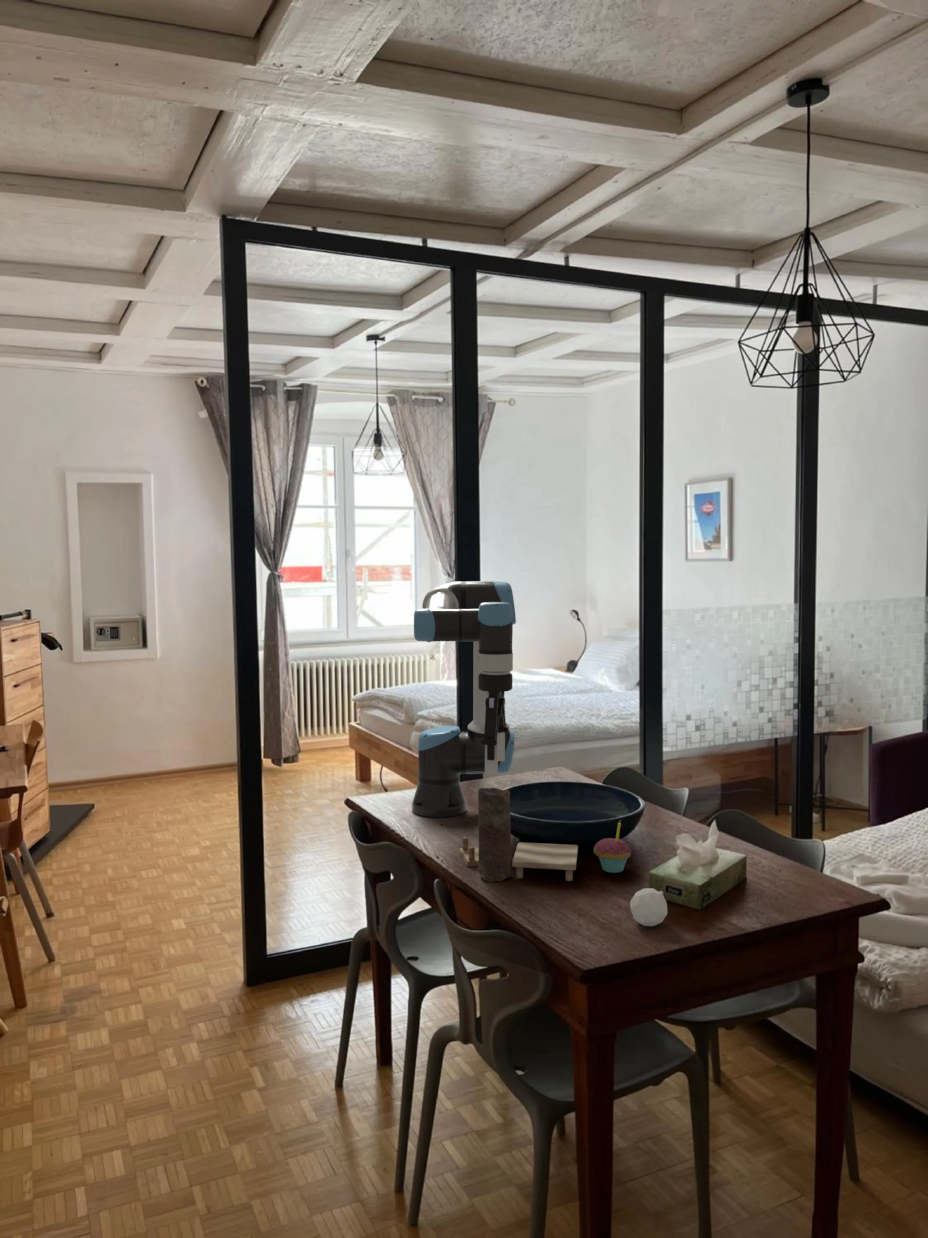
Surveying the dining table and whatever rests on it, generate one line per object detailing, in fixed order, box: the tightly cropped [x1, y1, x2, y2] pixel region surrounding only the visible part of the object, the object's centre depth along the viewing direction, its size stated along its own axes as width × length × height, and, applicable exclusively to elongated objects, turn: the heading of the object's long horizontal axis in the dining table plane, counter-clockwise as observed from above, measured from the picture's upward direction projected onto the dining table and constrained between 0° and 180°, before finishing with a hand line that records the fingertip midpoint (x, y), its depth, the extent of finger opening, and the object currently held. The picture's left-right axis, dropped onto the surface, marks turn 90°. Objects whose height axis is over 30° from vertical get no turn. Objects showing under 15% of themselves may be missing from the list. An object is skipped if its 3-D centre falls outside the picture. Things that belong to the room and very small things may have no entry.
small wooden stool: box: [511, 841, 579, 882], centre depth 216 cm, size 14×14×4 cm
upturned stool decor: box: [459, 836, 479, 868], centre depth 224 cm, size 10×10×4 cm
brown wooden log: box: [477, 787, 513, 883], centre depth 211 cm, size 8×7×20 cm
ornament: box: [629, 887, 668, 927], centre depth 184 cm, size 7×7×8 cm
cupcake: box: [593, 819, 633, 874], centre depth 216 cm, size 9×8×12 cm
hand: (495, 767), depth 209 cm, fingers open, 13 cm apart
